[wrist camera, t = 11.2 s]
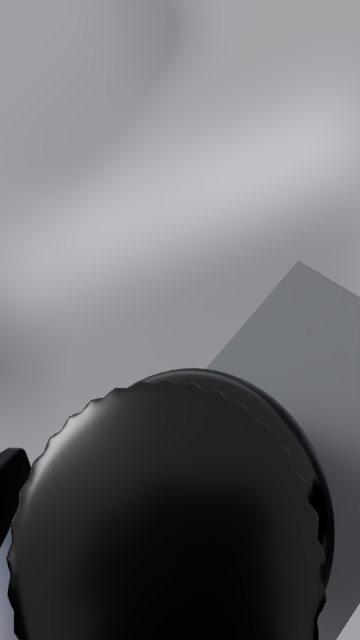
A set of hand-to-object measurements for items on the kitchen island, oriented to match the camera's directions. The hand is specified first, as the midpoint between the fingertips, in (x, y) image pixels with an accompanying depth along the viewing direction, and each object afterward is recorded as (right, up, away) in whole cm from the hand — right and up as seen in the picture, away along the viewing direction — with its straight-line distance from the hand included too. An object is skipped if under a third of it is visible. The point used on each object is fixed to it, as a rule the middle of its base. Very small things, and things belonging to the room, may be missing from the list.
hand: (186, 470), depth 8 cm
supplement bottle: (+1, -4, +8) cm, 9 cm away
